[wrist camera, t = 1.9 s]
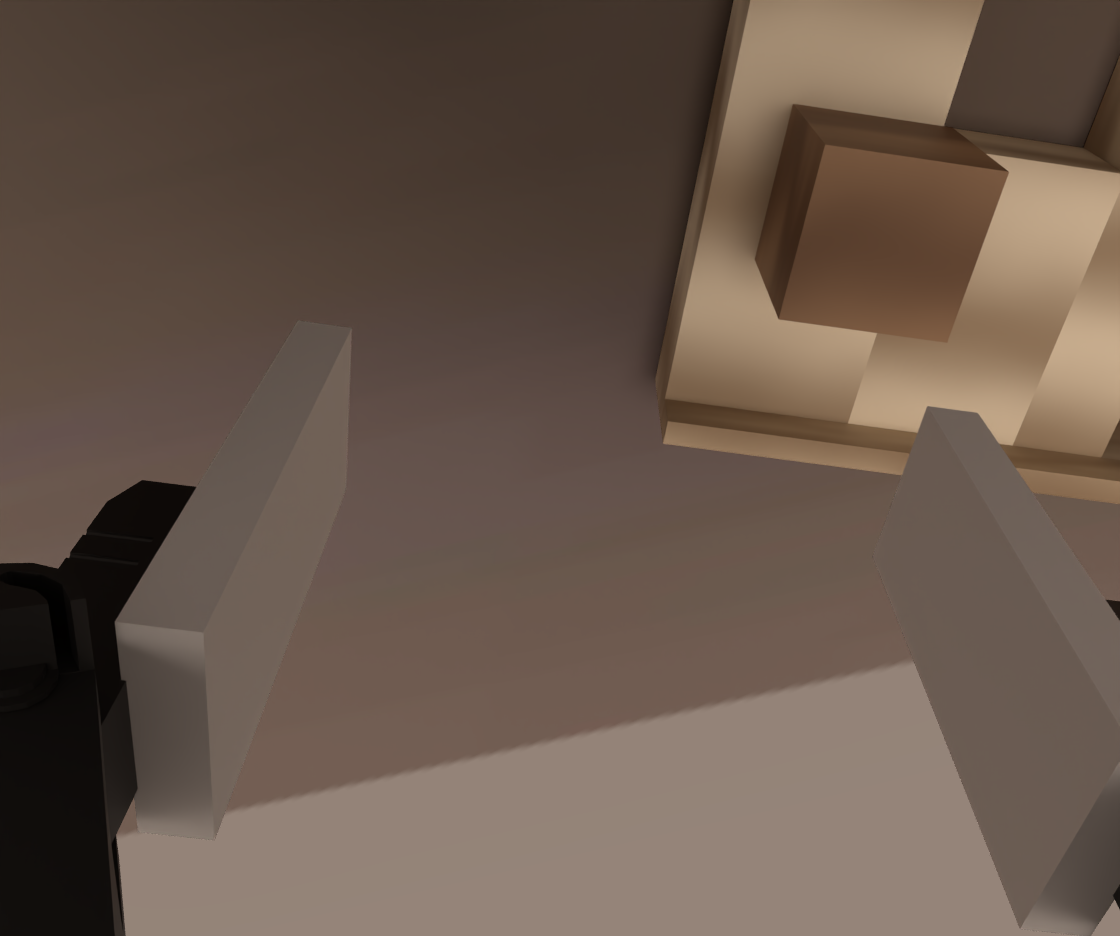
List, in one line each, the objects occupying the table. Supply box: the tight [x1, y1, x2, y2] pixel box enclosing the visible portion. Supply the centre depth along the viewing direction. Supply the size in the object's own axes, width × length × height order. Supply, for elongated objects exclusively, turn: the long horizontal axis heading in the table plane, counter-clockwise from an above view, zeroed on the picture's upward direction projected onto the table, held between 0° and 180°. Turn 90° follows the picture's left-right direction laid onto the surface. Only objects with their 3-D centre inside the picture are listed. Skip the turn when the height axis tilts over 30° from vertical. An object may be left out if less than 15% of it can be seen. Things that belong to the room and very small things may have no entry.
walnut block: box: [755, 104, 1009, 343], centre depth 28 cm, size 4×4×4 cm
